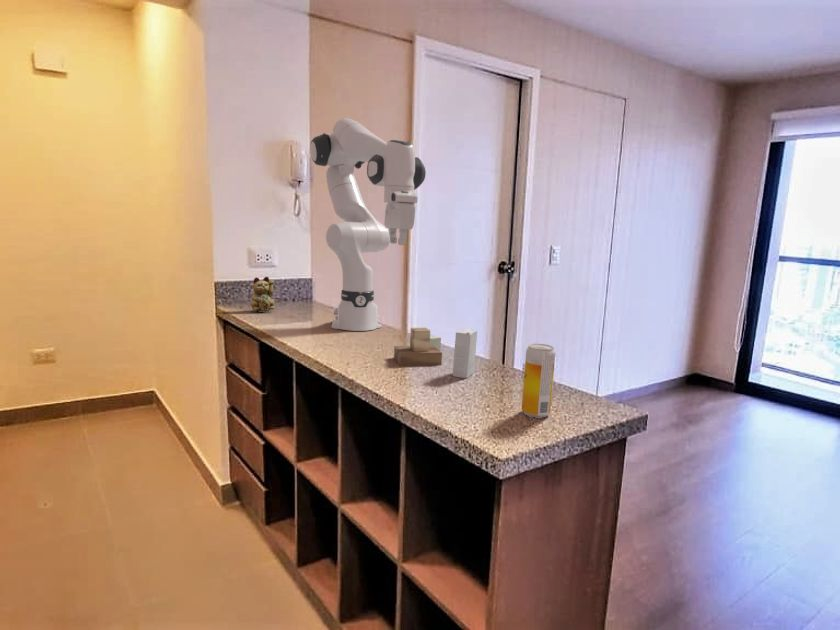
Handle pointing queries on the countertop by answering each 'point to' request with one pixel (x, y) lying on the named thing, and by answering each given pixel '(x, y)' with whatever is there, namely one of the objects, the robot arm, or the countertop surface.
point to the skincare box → (464, 353)
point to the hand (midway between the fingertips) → (397, 244)
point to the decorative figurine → (262, 295)
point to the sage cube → (435, 341)
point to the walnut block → (417, 356)
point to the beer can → (538, 380)
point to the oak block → (420, 339)
